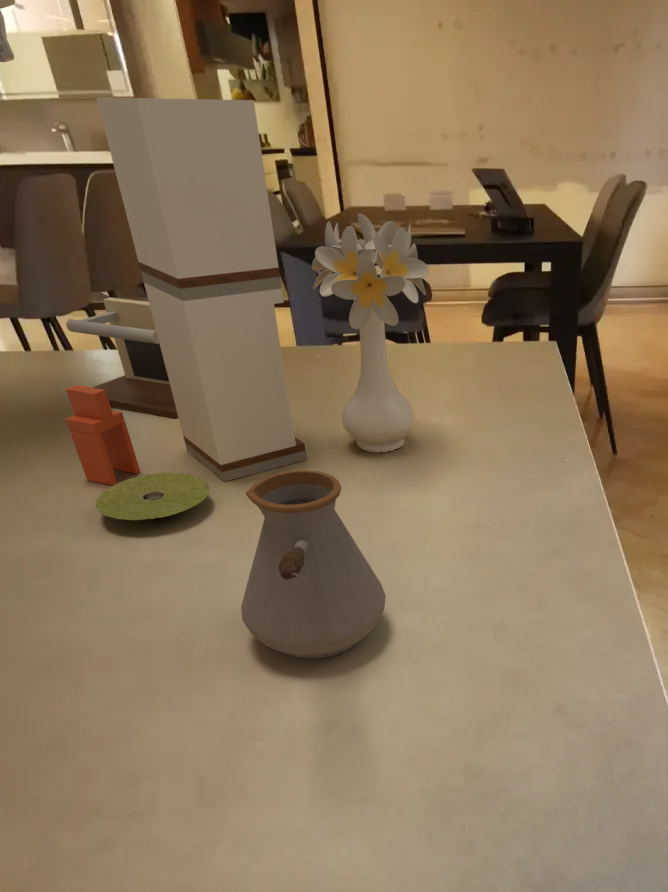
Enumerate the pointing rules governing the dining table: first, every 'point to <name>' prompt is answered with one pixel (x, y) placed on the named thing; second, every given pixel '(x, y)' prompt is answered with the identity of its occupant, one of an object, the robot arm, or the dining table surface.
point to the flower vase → (372, 322)
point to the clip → (99, 435)
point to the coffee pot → (307, 570)
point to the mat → (152, 496)
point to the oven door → (133, 357)
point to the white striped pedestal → (208, 272)
